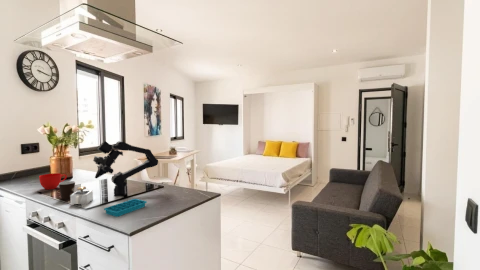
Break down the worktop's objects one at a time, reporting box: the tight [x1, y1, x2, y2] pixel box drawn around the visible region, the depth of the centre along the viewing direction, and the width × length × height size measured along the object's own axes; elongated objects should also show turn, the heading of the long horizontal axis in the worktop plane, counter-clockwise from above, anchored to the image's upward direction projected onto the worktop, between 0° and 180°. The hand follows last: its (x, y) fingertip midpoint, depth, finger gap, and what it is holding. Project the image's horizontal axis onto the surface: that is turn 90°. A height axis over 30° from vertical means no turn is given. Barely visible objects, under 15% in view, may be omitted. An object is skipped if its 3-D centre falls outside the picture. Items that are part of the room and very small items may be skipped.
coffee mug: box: [58, 180, 76, 200], centre depth 159 cm, size 12×9×10 cm
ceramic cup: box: [38, 172, 68, 190], centre depth 182 cm, size 13×17×10 cm
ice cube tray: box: [103, 198, 148, 218], centre depth 136 cm, size 12×20×3 cm, turn 151°
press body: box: [69, 189, 94, 206], centre depth 148 cm, size 9×12×6 cm
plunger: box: [76, 186, 87, 194], centre depth 149 cm, size 7×7×8 cm
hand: (95, 178), depth 156 cm, fingers closed
